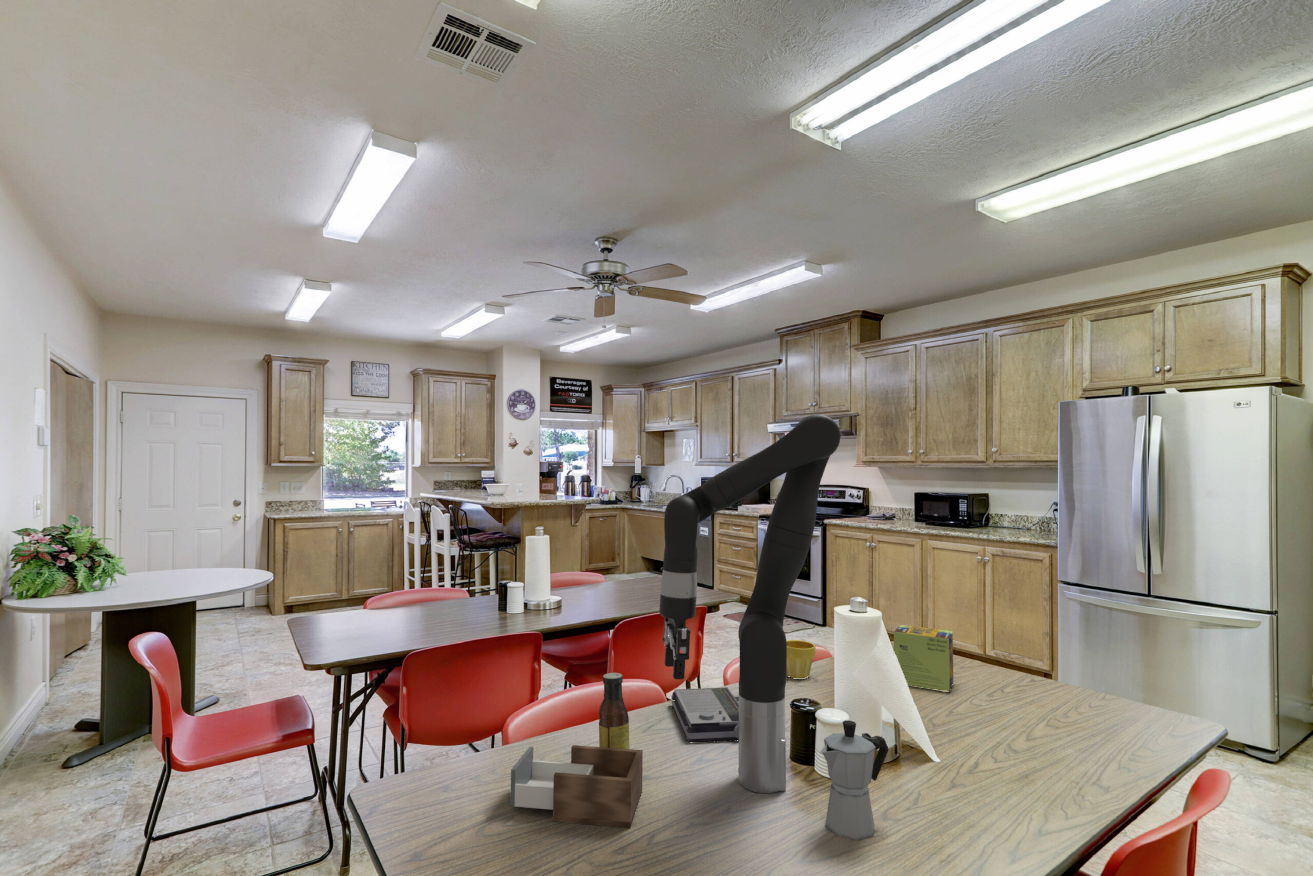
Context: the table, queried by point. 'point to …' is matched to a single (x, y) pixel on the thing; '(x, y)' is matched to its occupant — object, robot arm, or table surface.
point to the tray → (539, 780)
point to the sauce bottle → (613, 714)
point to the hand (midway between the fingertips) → (673, 672)
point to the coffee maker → (852, 780)
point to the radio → (707, 714)
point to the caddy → (600, 787)
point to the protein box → (925, 656)
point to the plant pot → (799, 658)
